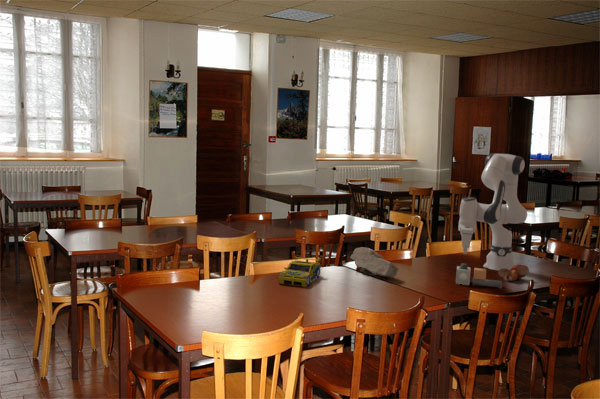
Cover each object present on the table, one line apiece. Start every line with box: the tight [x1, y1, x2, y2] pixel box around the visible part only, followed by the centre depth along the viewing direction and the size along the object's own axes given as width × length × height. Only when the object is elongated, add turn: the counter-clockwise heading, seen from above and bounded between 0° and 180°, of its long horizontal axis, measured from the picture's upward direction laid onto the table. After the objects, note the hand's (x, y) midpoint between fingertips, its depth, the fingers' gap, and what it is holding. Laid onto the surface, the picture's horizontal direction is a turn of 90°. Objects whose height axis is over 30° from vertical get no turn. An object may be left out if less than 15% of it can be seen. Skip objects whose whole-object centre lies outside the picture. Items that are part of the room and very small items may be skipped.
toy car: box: [278, 255, 322, 288], centre depth 307 cm, size 16×27×10 cm, turn 163°
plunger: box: [460, 263, 468, 270], centre depth 314 cm, size 3×3×5 cm
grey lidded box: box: [455, 265, 471, 286], centre depth 314 cm, size 8×7×8 cm
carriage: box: [473, 267, 487, 284], centre depth 312 cm, size 5×6×7 cm
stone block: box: [349, 246, 399, 278], centre depth 327 cm, size 34×10×15 cm
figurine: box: [497, 264, 530, 282], centre depth 326 cm, size 20×9×15 cm
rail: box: [471, 277, 503, 289], centre depth 312 cm, size 6×15×3 cm, turn 75°
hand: (464, 253), depth 313 cm, fingers closed
